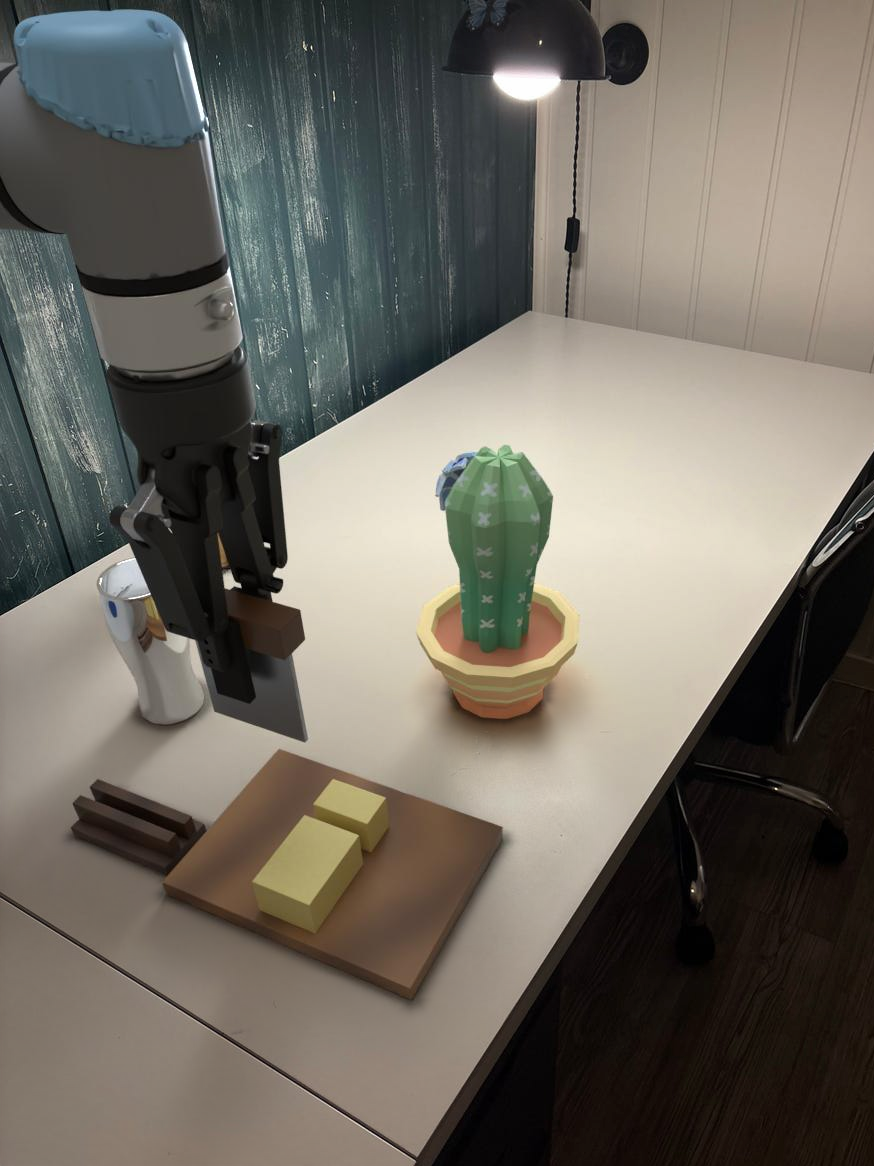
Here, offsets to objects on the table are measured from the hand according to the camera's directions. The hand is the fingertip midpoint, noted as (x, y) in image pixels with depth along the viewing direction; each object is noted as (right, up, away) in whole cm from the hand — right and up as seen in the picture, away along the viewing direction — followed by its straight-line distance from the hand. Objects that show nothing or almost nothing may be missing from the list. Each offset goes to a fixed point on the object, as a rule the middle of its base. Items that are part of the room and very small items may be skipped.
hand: (250, 681), depth 66 cm
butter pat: (+6, -13, +12) cm, 18 cm away
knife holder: (-13, -13, +14) cm, 23 cm away
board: (+5, -15, +11) cm, 19 cm away
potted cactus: (+18, -2, +27) cm, 33 cm away
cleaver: (0, -3, +3) cm, 4 cm away
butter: (+3, -16, +7) cm, 18 cm away
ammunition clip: (-15, +14, +48) cm, 53 cm away
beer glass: (-14, -4, +26) cm, 30 cm away
